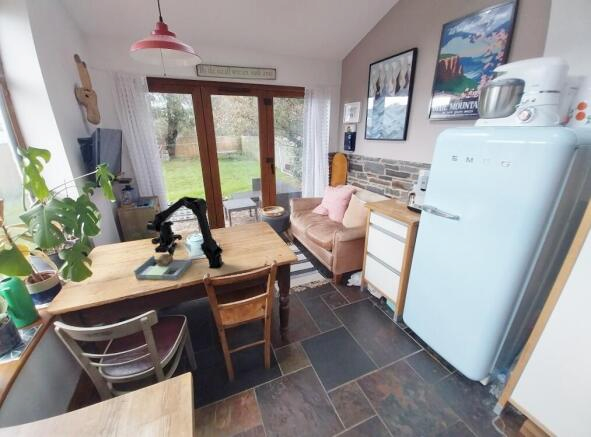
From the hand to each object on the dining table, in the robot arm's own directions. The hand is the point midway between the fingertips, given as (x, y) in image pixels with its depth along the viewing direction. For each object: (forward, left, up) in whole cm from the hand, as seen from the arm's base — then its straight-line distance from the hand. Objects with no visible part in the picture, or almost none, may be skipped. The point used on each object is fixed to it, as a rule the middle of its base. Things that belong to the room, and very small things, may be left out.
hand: (172, 255), depth 145 cm
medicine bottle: (+16, -20, -4) cm, 26 cm away
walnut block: (+1, +6, -1) cm, 6 cm away
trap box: (-1, +10, -4) cm, 11 cm away
